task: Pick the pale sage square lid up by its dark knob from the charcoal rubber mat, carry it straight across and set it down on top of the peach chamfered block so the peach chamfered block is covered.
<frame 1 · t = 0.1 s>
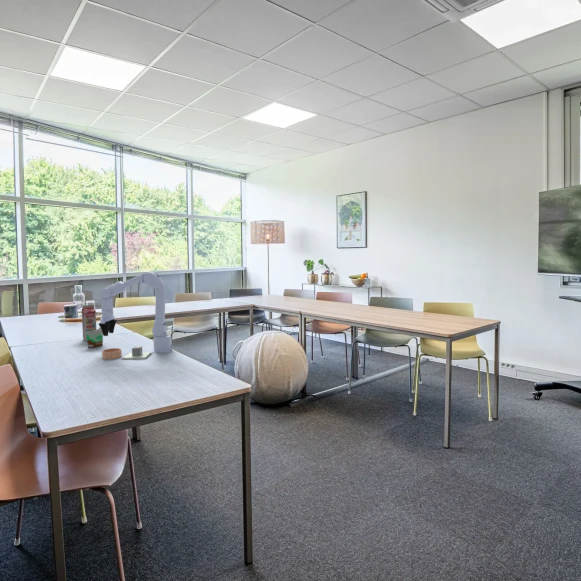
hand: (108, 334, 226), 10 cm above the table, fingers open, 7 cm apart
sheet lid: (137, 356, 216), resting on mat
mat: (137, 357, 216), on the table
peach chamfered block: (112, 357, 215), on the table
juice carton: (90, 340, 259), on the table
food container: (98, 346, 242), on the table
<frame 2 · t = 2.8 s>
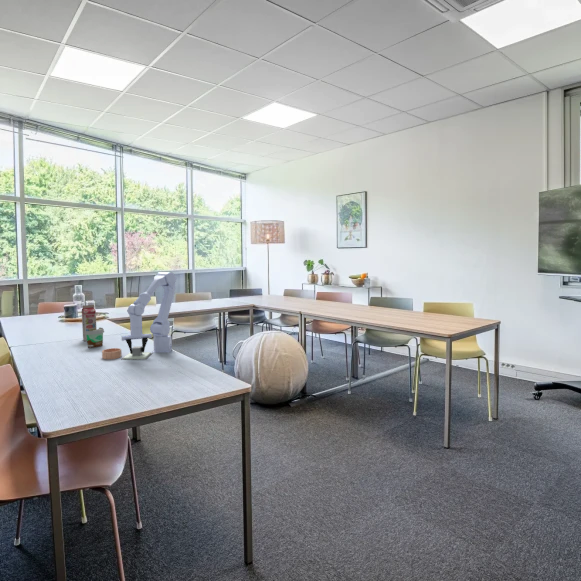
hand: (137, 352, 216), 2 cm above the table, fingers closed on sheet lid, 5 cm apart
sheet lid: (137, 356, 216), resting on mat, touching gripper
everything else where it was.
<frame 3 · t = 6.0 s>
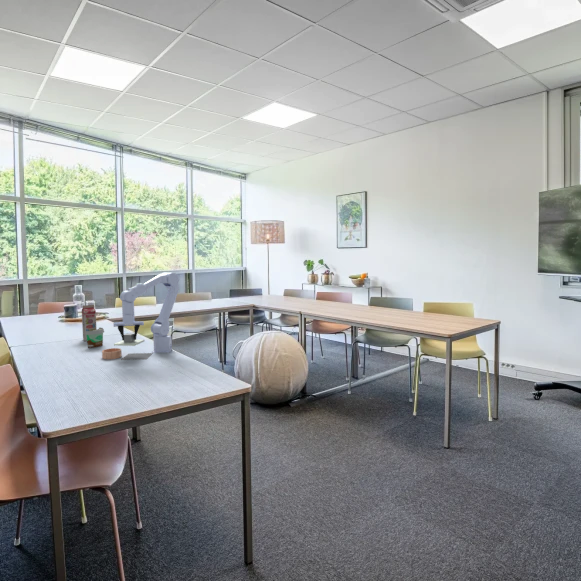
hand: (129, 339, 215), 9 cm above the table, fingers closed on sheet lid, 5 cm apart
sheet lid: (129, 343, 215), point 8 cm above the table, touching gripper
everything else where it was.
when the fingers open (7 cm above the table, at t = 9.2 s): sheet lid drops 1 cm, resting on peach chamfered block.
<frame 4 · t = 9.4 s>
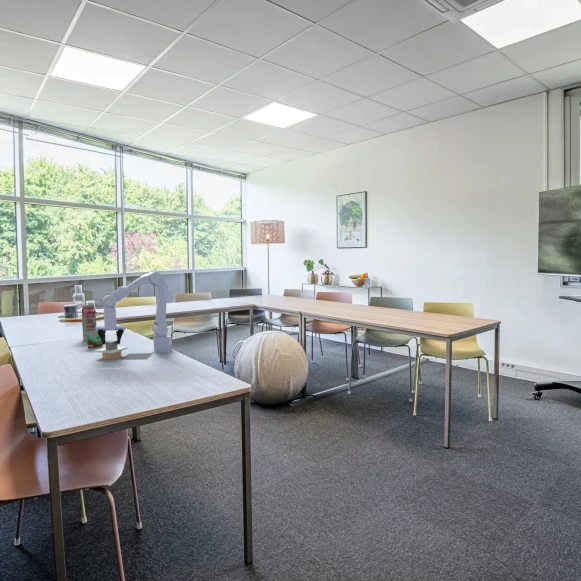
hand: (111, 344, 214), 7 cm above the table, fingers open, 7 cm apart
sheet lid: (111, 350, 215), point 4 cm above the table, touching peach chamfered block
everything else where it was.
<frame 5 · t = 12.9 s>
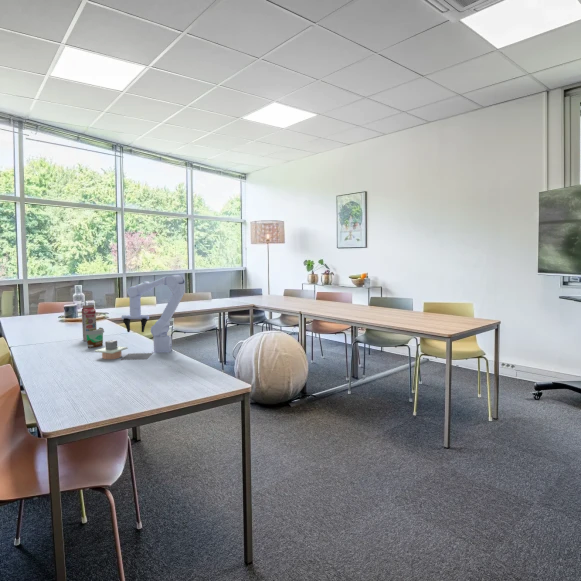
hand: (135, 331, 231), 10 cm above the table, fingers open, 7 cm apart
nothing on the table moved.
at the end: sheet lid 0.0 cm off-centre on the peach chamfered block, point 4.0 cm above the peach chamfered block's base; sheet lid tilted 0°; the gripper is holding nothing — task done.
